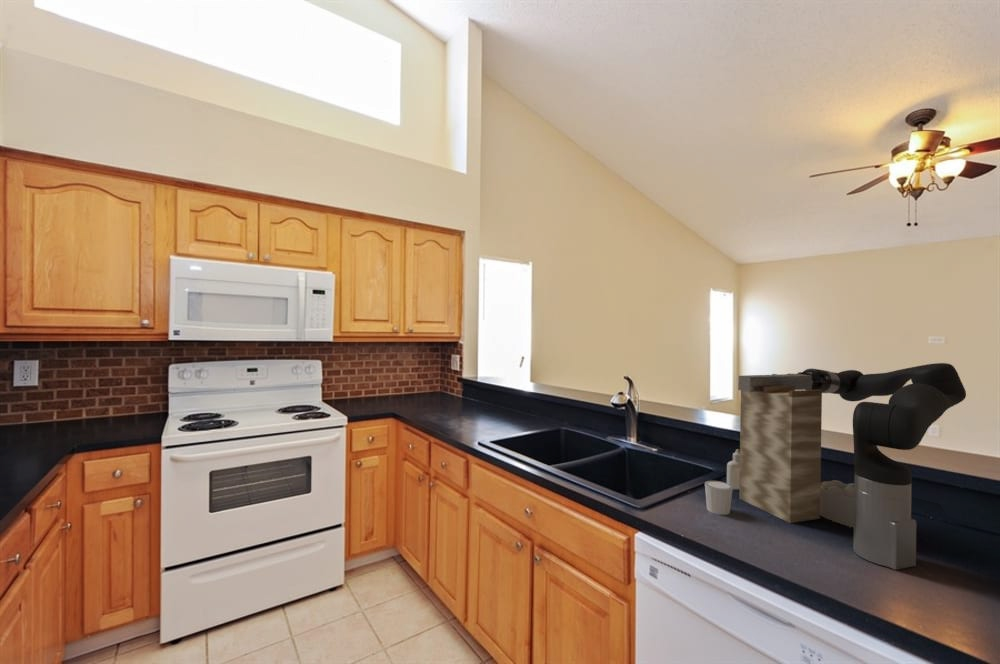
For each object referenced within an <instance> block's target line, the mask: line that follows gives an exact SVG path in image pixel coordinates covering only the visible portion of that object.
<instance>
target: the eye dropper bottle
mask: <svg viewBox="0 0 1000 664" xmlns="http://www.w3.org/2000/svg"><path fill="white" fill-rule="evenodd" d="M726 483H727V484H730V485H731V486H733V491H734V490H735V491H739V486H740V449H738V448H737V449H735V452H733V453H732V460H730V461H728V462H727V463H726Z"/></svg>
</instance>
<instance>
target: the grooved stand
mask: <svg viewBox="0 0 1000 664" xmlns="http://www.w3.org/2000/svg"><path fill="white" fill-rule="evenodd" d="M822 399H823V393H822V390H795V386H771V387H763V391H760V392H748V391H742V390H740V420H739V421H740V422H739V424H740V425H739V426H740V427H739V430H740V431H739V433H740V434H739V435H740V436H739V453H740V486H739V490H738V491H739V492H738V493H739V494H738V495H739V496H738V497H739V498H738V499H739V500H741V501H743V502H745V503H747V504H750V505H751V506H754V507H755V508H757V509H761V510H762V511H764V512H767V513H769V514H771V515H772V516H775V517H777V518H779V519H781V520H783V521H785V522H787V523H789V524H791V523H797V522H798V523H799V522H805V521H806V522H807V521H812V520H813V521H814V520H819V519H821V515H820V487H821V482H822V481H821V476H822V475H821V474H822V473H821V471H822V468H821V467H822V419H823V418H822V414H823V413H822V407H823V400H822Z"/></svg>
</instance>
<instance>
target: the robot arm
mask: <svg viewBox="0 0 1000 664" xmlns="http://www.w3.org/2000/svg"><path fill="white" fill-rule="evenodd" d="M796 374H803V375H812V389H810V390H822V394H833V395H834V394H835V395H839V396H840V398H841V399H842V400H844V401H847V402H858V404H856V405H855V407H854V410H853V414H852V435H853V439H852V440H853V462H854V528H853V539H852V540H853V546H852V547H853V552H854V553H855V555H857V556H859V557H860V558H862V559H864V560H866V561H869V562H870V563H874V564H877V565H880V566H884V567H887V568H890V569H892V570H895V571H897V570H900V569H901V570H902V569H907V568H910V567H911V568H912V567H916V565H917V521H916V520H915V519H913V518H912V484H913V483H912V480H913V479H912V478H913V473H912V471H911V469H910V468H909V467H908V466H906V465H904V464H902V463H900V462H898V461H896V460H894V459H892V458H890V457H888V456H887V455H886V454H884V453H883V452H882V451H880V449H879V448H878V447H883V448H887V449H892V450H893V449H894V450H902V451H911V450H913V449H915V448H916V447H918V446H919V444H920V443H921V442H922V440H923V438H924V436H925V435H926V433H927V431H928V429H929V428H930V427H931V426H932V425H933V424H934V423H935V422H936V421H937V420H939V419H940V418H941V417H942V416H943V415H944V413H945V412H946V411H947V410H949V409H951V408H952V407H954V406H957V405H959V404H960V403H962V402H963V401H964V400H965V399H966V397H967V391H966V389H965V386H964V385H963V382H962V380H961V377H960V375H959V373H958V371H957V369H956V368H955V366H954V365H952V364H951V363H946V362H935V363H928V364H923V365H916V366H910V367H907V368H902V369H897V370H892V371H888V372H879V373H866V374H863V372H861V371H859V370H856V369H855V370H854V369H848V370H842V371H839V372H834V371H829V370H824V369H818V368H807V369H805V370H803V371H800V372H799V371H798V373H796ZM771 375H779V374H777V373H772V374H771ZM910 380H911V383H910V384H907V383H908V382H909V381H910ZM887 396H890V397H889V400H888V403H884V402H883V403H881V402H875V401H874V402H872V401H863V400H867V399H868V398H871V397H887ZM860 401H861V402H860Z"/></svg>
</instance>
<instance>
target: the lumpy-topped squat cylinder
mask: <svg viewBox="0 0 1000 664" xmlns="http://www.w3.org/2000/svg"><path fill="white" fill-rule="evenodd" d="M854 483H855V482H854ZM854 483H853V482H852V483H851V482H850V483H847V484H846V483H844V482H842V481H840V480H837V479H836V480H835V479H833V480H830V481H829V480H827V481H821V487H820V517H823V518H824V519H827V520H830V521H831V520H832V521H831V522H834V523H836V522H837V524H839V523H840V524H839V525H842V524H843V525H842V526H844V525H846V526H845V527H847V526H849V527H848V528H851V527H853V528H852V529H854Z"/></svg>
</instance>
